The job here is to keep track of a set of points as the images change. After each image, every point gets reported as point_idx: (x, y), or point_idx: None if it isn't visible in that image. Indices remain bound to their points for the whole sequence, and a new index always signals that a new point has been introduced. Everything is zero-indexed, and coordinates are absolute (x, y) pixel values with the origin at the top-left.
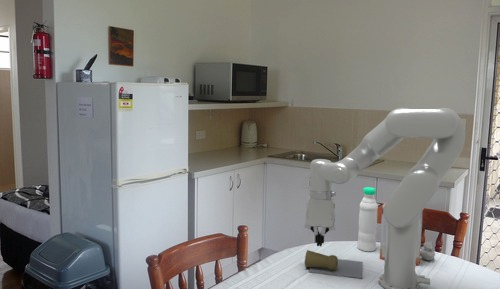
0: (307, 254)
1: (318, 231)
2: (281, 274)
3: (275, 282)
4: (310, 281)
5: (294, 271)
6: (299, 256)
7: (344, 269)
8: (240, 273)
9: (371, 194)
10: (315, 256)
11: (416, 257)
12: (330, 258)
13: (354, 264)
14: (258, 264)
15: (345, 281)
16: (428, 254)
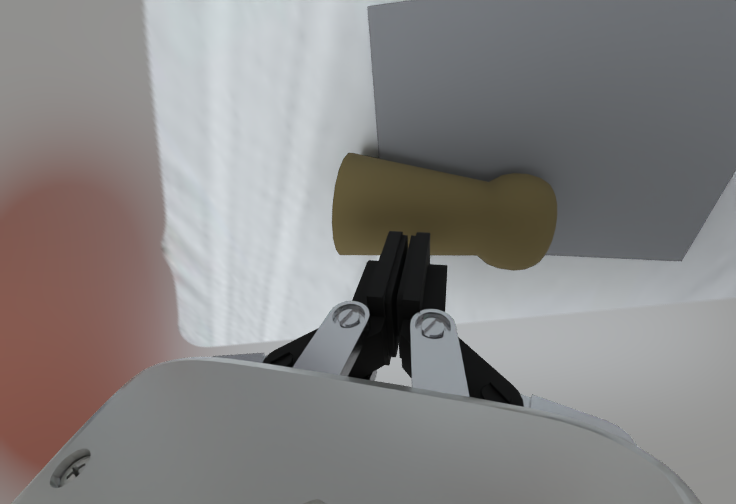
0: (348, 252)
1: (372, 341)
2: (291, 279)
3: (299, 328)
4: None
5: (325, 247)
6: (275, 35)
7: (590, 180)
8: (180, 294)
9: None
10: None
11: None
12: (499, 265)
13: (719, 58)
14: (173, 219)
15: (562, 292)
16: None
